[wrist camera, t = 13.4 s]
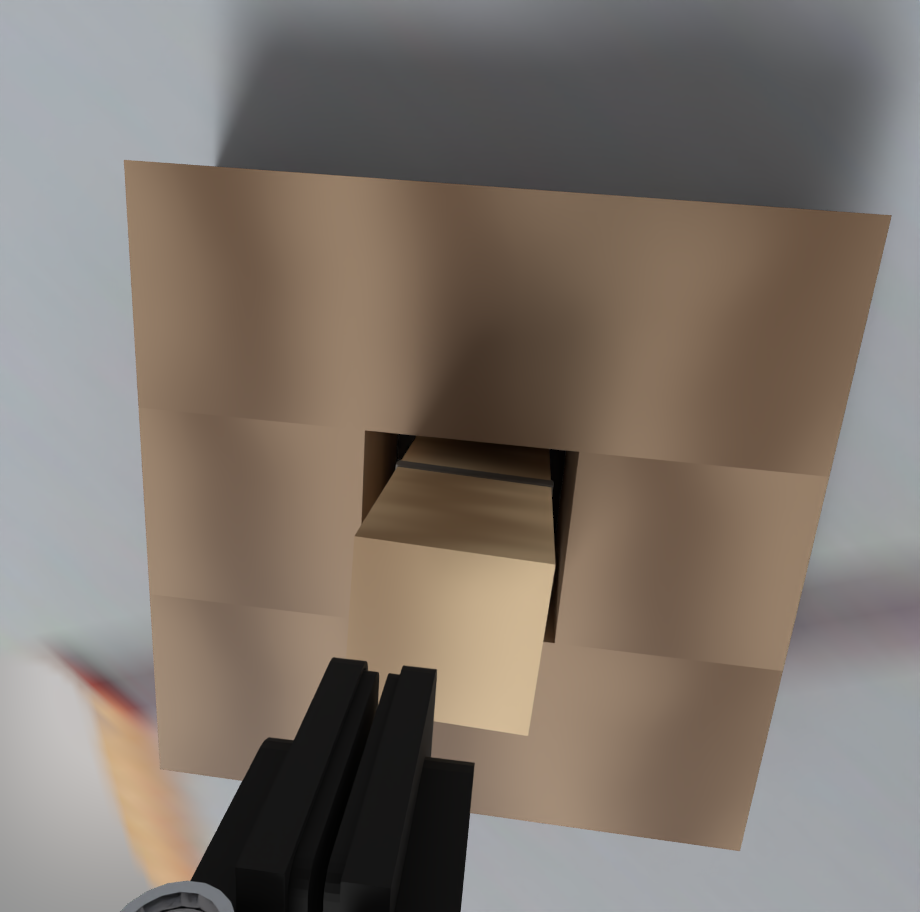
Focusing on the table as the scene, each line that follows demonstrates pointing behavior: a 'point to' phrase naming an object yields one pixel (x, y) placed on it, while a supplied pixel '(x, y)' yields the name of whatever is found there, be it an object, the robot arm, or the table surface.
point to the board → (502, 422)
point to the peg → (459, 577)
